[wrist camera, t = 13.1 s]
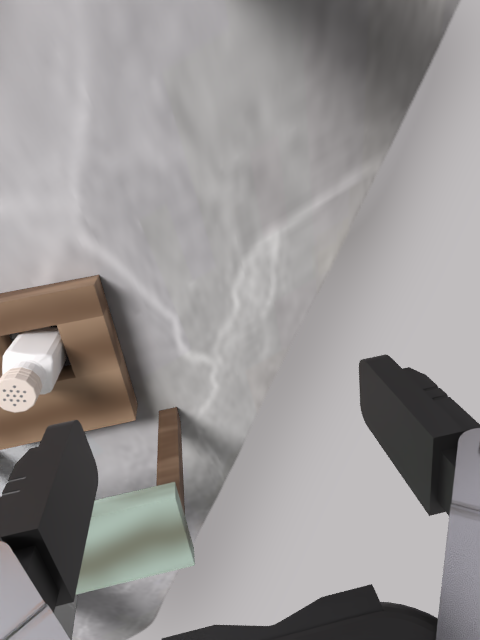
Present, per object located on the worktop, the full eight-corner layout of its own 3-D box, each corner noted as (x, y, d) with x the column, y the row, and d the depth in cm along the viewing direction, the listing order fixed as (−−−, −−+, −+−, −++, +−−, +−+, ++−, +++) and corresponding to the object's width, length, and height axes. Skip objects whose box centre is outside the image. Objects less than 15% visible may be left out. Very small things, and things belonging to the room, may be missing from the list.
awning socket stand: (-106, 313, 38) (-300, 436, 22) (146, 266, 40) (132, 348, 24) (-23, 470, 46) (-124, 644, 30) (185, 424, 48) (194, 565, 32)
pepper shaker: (24, 322, 41) (-15, 371, 32) (68, 326, 41) (42, 375, 33) (24, 358, 42) (-13, 415, 33) (67, 362, 43) (41, 418, 34)
